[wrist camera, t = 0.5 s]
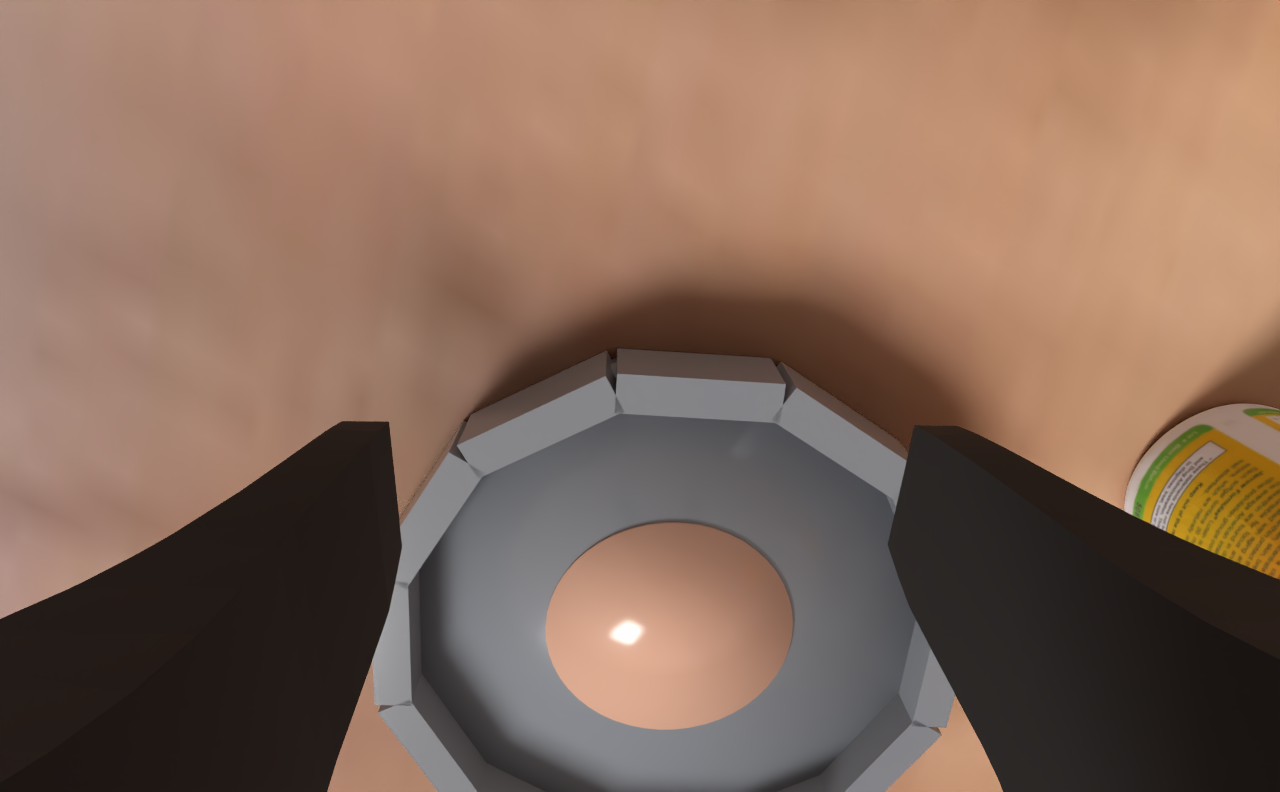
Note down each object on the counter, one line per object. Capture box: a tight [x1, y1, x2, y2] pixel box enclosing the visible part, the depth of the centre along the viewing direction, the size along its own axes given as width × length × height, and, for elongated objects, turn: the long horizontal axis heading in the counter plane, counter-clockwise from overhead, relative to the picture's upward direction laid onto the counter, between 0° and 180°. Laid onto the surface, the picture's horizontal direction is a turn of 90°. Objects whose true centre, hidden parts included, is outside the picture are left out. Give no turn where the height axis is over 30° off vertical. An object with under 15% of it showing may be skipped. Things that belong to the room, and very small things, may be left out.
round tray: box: [373, 348, 955, 792], centre depth 23 cm, size 16×16×2 cm
